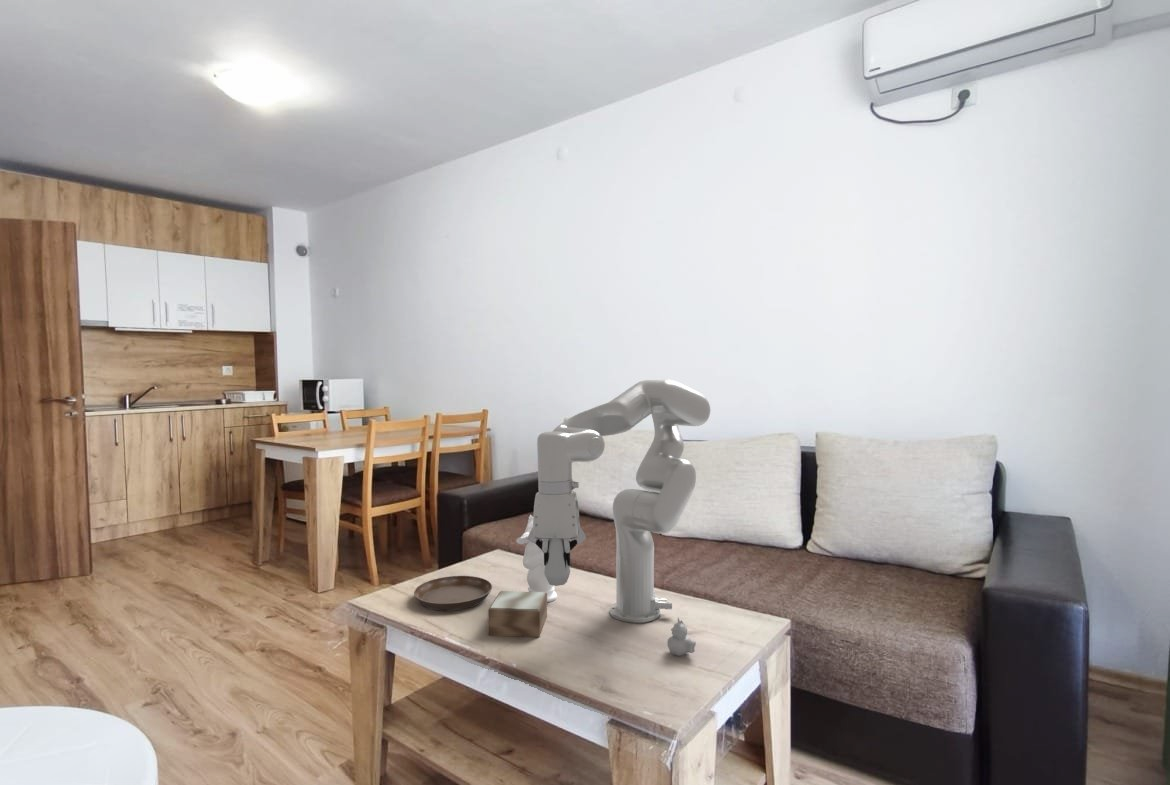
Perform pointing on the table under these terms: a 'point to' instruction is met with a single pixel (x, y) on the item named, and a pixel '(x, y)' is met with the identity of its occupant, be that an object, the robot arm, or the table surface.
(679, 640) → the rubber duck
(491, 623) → the square box
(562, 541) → the salt shaker
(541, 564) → the cherub figurine
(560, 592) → the table surface
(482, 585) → the plant saucer
